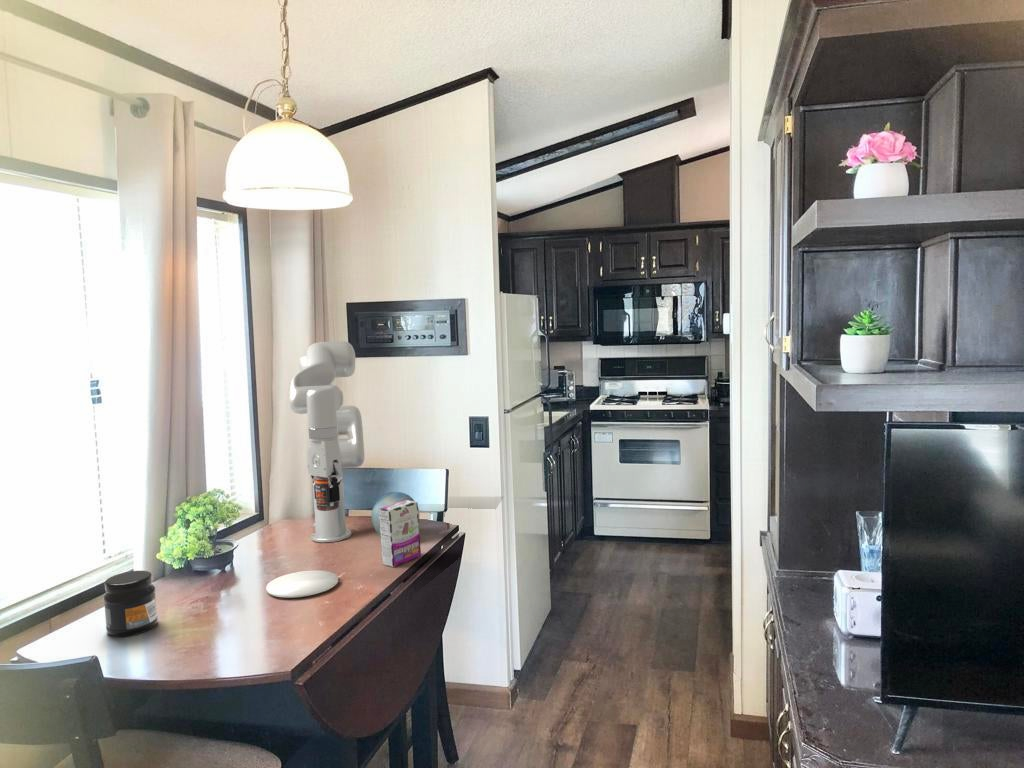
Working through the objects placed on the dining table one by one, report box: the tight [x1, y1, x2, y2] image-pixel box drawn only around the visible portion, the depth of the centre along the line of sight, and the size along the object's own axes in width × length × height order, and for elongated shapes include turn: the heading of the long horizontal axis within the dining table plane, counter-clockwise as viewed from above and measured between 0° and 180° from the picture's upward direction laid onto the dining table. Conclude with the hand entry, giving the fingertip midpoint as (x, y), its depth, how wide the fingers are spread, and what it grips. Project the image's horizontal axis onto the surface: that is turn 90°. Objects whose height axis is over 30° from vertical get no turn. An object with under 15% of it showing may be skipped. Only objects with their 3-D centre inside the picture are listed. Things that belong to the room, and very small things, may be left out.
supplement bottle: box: [315, 473, 339, 511], centre depth 193 cm, size 6×6×11 cm
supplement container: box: [102, 570, 159, 637], centre depth 163 cm, size 10×10×12 cm
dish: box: [265, 569, 339, 599], centre depth 186 cm, size 18×18×1 cm
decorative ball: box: [371, 491, 421, 536], centre depth 225 cm, size 15×15×15 cm
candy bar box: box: [379, 500, 422, 568], centre depth 203 cm, size 11×5×16 cm, turn 143°
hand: (327, 499), depth 193 cm, fingers closed on supplement bottle, 6 cm apart
